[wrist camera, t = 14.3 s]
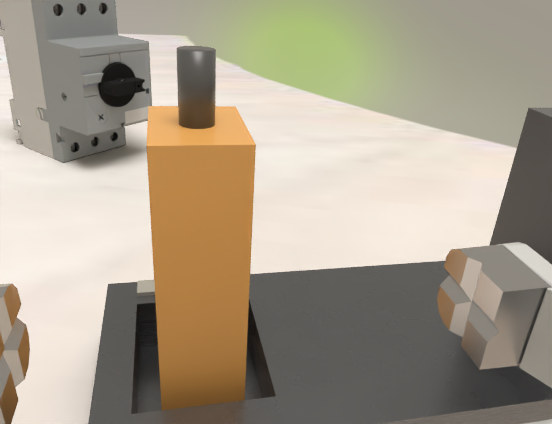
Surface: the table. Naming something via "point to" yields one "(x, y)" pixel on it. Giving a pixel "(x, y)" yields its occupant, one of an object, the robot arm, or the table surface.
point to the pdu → (322, 356)
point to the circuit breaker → (73, 76)
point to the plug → (200, 237)
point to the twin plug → (529, 189)
